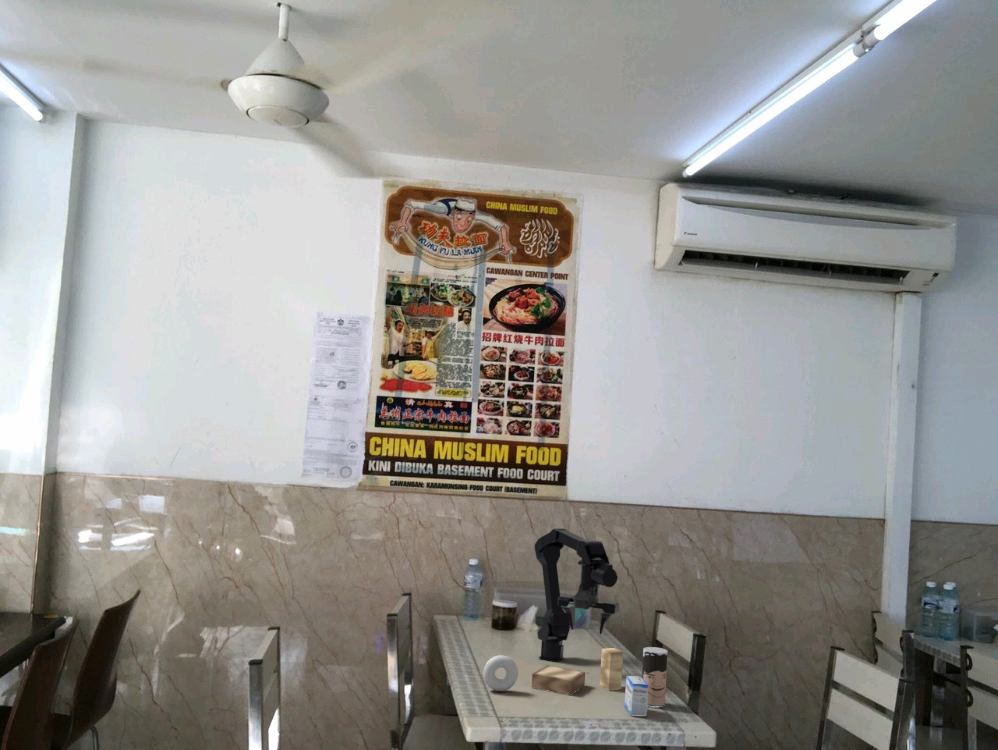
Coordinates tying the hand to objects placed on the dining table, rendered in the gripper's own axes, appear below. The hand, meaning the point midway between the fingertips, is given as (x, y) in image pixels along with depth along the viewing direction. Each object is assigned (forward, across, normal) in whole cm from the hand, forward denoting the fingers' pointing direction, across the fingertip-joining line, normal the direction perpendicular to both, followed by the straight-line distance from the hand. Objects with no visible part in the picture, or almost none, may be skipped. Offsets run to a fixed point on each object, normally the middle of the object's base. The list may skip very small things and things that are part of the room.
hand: (586, 631), depth 270 cm
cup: (+13, +26, -18) cm, 34 cm away
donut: (+13, -14, -33) cm, 38 cm away
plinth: (+13, -2, -18) cm, 23 cm away
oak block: (+13, +11, -10) cm, 20 cm away
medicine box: (+13, +24, -28) cm, 39 cm away
